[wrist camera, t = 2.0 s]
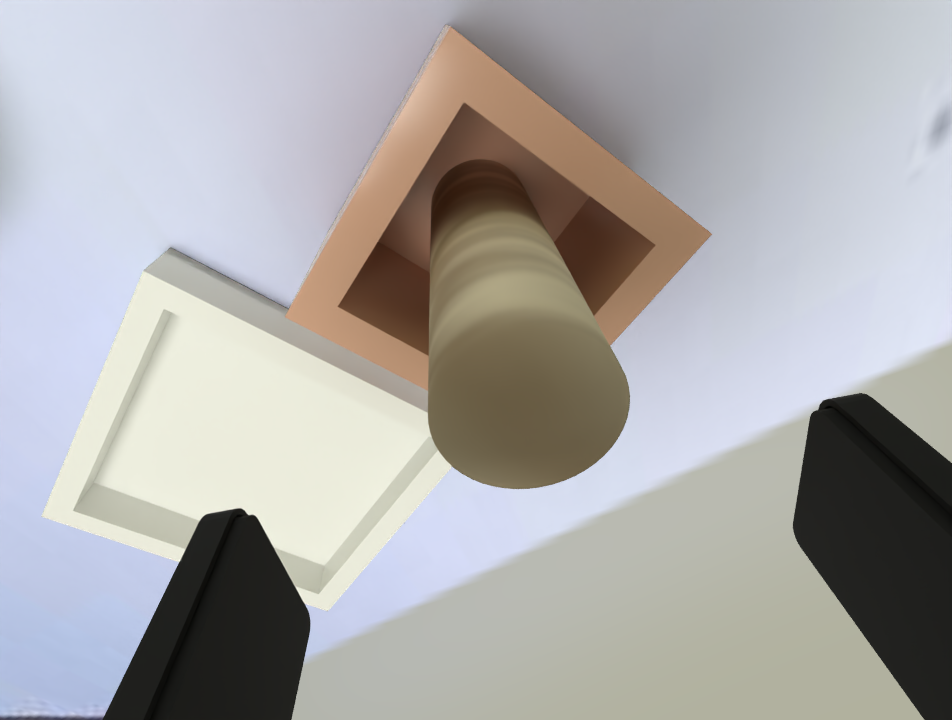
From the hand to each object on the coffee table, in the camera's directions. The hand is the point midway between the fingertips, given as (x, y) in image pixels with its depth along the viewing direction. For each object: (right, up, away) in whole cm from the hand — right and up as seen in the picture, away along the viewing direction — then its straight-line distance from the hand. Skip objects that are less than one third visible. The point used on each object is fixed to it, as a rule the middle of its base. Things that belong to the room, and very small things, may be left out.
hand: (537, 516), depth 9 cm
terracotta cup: (-1, +9, +14) cm, 17 cm away
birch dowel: (-1, +9, +13) cm, 16 cm away
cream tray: (-12, -2, +20) cm, 24 cm away
